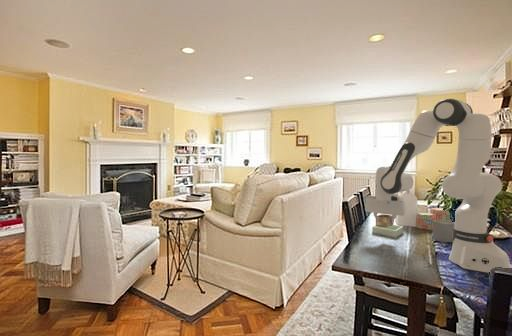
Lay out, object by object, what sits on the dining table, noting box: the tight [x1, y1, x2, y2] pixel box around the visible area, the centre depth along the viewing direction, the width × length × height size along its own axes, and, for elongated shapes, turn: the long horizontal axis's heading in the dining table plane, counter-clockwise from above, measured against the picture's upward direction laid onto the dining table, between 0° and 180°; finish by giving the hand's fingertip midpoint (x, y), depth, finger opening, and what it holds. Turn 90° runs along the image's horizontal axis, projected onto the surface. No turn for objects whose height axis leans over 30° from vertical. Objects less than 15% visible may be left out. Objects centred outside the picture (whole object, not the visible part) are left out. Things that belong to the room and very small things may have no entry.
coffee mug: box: [432, 220, 455, 243], centre depth 153 cm, size 13×10×10 cm
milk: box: [394, 189, 419, 228], centre depth 188 cm, size 12×12×26 cm
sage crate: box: [371, 224, 404, 239], centre depth 166 cm, size 13×13×4 cm
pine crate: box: [375, 213, 394, 227], centre depth 151 cm, size 6×9×5 cm, turn 137°
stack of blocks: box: [416, 207, 451, 230], centre depth 177 cm, size 21×6×12 cm, turn 92°
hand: (384, 222), depth 151 cm, fingers closed on pine crate, 6 cm apart
